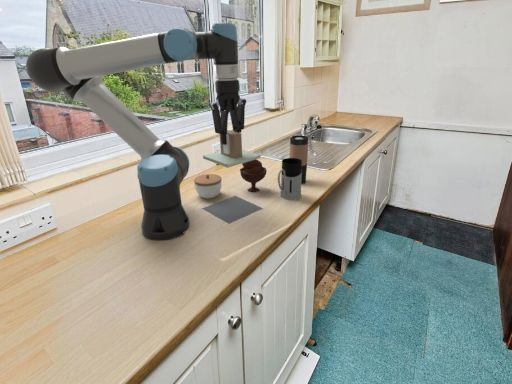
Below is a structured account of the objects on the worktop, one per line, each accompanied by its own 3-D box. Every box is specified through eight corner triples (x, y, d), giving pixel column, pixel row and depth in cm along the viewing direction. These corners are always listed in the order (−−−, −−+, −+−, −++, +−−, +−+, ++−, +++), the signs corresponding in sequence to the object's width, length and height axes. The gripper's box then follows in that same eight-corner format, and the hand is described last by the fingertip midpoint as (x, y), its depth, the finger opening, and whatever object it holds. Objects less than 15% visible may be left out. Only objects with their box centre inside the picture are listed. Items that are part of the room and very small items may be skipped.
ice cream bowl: (264, 197, 125) (264, 161, 119) (237, 195, 127) (235, 160, 121) (268, 187, 134) (268, 153, 129) (243, 185, 137) (242, 152, 131)
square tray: (229, 225, 105) (228, 223, 105) (201, 209, 116) (201, 208, 116) (263, 209, 115) (263, 208, 115) (235, 197, 126) (235, 195, 126)
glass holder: (305, 195, 126) (307, 159, 120) (288, 209, 115) (289, 170, 109) (286, 190, 131) (287, 156, 125) (268, 203, 120) (268, 166, 114)
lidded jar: (190, 199, 125) (187, 177, 121) (205, 189, 133) (203, 168, 130) (213, 204, 120) (211, 181, 117) (227, 193, 129) (226, 172, 126)
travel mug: (309, 183, 138) (311, 138, 130) (293, 186, 135) (295, 140, 127) (300, 177, 144) (302, 134, 136) (285, 180, 142) (286, 136, 134)
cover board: (227, 167, 99) (226, 139, 96) (203, 158, 109) (200, 132, 105) (260, 157, 108) (259, 131, 104) (234, 150, 117) (233, 126, 114)
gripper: (212, 81, 91) (218, 159, 100) (254, 78, 100) (256, 149, 110) (198, 80, 96) (205, 155, 105) (239, 77, 106) (242, 145, 115)
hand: (231, 152), depth 107 cm, fingers closed on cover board, 3 cm apart
